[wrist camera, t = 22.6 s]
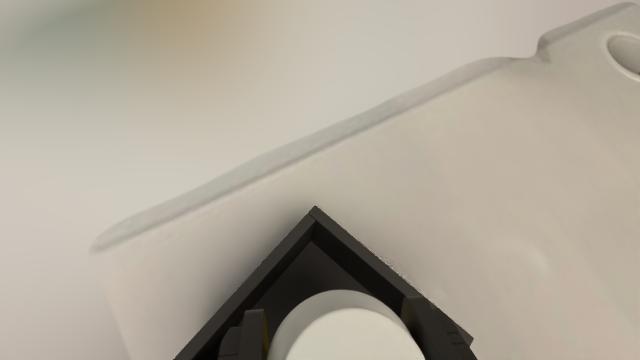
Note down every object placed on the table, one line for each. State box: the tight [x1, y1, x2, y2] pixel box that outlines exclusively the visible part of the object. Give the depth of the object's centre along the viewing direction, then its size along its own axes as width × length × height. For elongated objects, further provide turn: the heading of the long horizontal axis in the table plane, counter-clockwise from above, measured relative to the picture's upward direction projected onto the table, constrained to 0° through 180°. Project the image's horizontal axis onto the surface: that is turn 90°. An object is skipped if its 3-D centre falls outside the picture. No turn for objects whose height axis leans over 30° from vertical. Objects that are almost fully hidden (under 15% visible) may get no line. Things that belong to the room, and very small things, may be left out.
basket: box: [173, 206, 474, 360], centre depth 18 cm, size 11×11×6 cm
